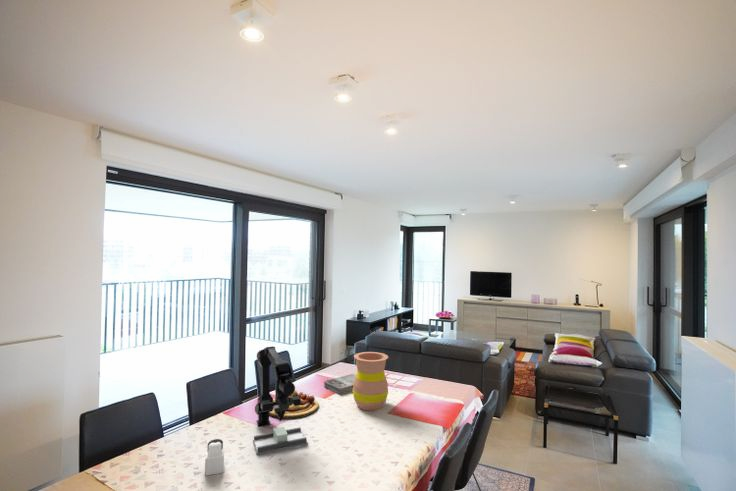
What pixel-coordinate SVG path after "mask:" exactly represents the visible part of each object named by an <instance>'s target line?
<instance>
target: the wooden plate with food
mask: <svg viewBox="0 0 736 491" xmlns="http://www.w3.org/2000/svg"><path fill="white" fill-rule="evenodd" d="M293 396H298V397H299V398H300V399H301V405H298V406H295V405H291V406H289V409H287V410H286V411H285V413H284V416H283V419H287V420H288V419H298V418H299V419H300V418H303V417H307V416H310V415H312V414H314V413H315V412H317V410H318V408H319V402H318V400H317V399H315V398H316V397H315V396H314V395H310V394H307V393H303V391H302V392H299V393H298V391H297V390H295V391H294V392H293V394H291V395H288V397H293ZM273 402H275V397H274V398H273ZM269 416H271V417H274V418H278V419H279V417H278V413H277V411H275V410H274V409H273V411H271V412H269Z"/></svg>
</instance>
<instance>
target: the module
mask: <svg viewBox="0 0 736 491" xmlns="http://www.w3.org/2000/svg"><path fill="white" fill-rule="evenodd" d="M286 430H287V429H285V427H284V426H280V427H275V428H273V438H274V440H275V442H276V443H280V442H285V441H287V437H288V434H287V432H286Z"/></svg>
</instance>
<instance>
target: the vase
mask: <svg viewBox="0 0 736 491" xmlns="http://www.w3.org/2000/svg"><path fill="white" fill-rule="evenodd" d="M353 358H354V359H355V364H356V369H357V371H356V373H355V374H356V377H355V380H354V382H353V391H352V394H353V399H354V402H355V404H356V405H357V407H358V408H359V409H360V410H364V411H369V412H370V411H377V410H378V411H379V410H380V409H382V408H383V407H384V405H385V403H386V402H387V399H388V395H389V382H388V380H387V377H386V373H385V367H386V364H387V360H388V359H389V355H387V354H386V353H382V352H376V351H363V352H358V353H355V354H353Z"/></svg>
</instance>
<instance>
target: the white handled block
mask: <svg viewBox="0 0 736 491" xmlns="http://www.w3.org/2000/svg"><path fill="white" fill-rule="evenodd" d="M204 460H205V462H204V463H205V464H204V468H205V469H204V476H212V475H218V474H222V473H224V467H225V465H224V464H225V448H224V441H223V440H222V439H219V438H216V439H212V440H210V441H208V443H207V450H206V452H205V459H204Z"/></svg>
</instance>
